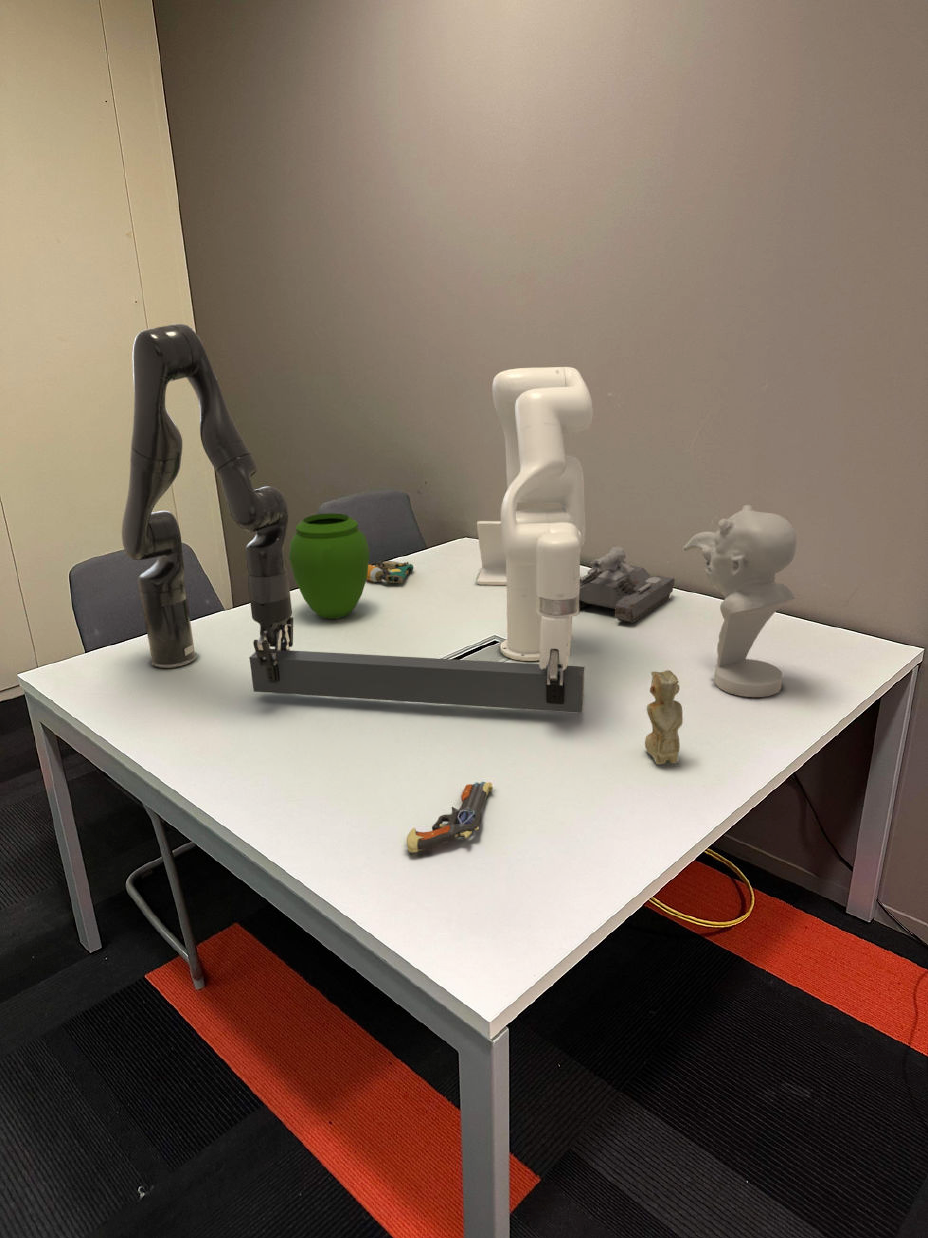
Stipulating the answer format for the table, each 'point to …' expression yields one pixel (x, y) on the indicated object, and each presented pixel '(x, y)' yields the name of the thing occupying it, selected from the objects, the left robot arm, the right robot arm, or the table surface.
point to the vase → (329, 563)
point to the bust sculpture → (747, 593)
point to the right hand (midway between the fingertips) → (556, 695)
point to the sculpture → (664, 718)
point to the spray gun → (389, 571)
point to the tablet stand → (491, 553)
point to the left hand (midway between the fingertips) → (279, 676)
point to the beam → (419, 680)
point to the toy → (623, 587)
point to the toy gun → (454, 820)
